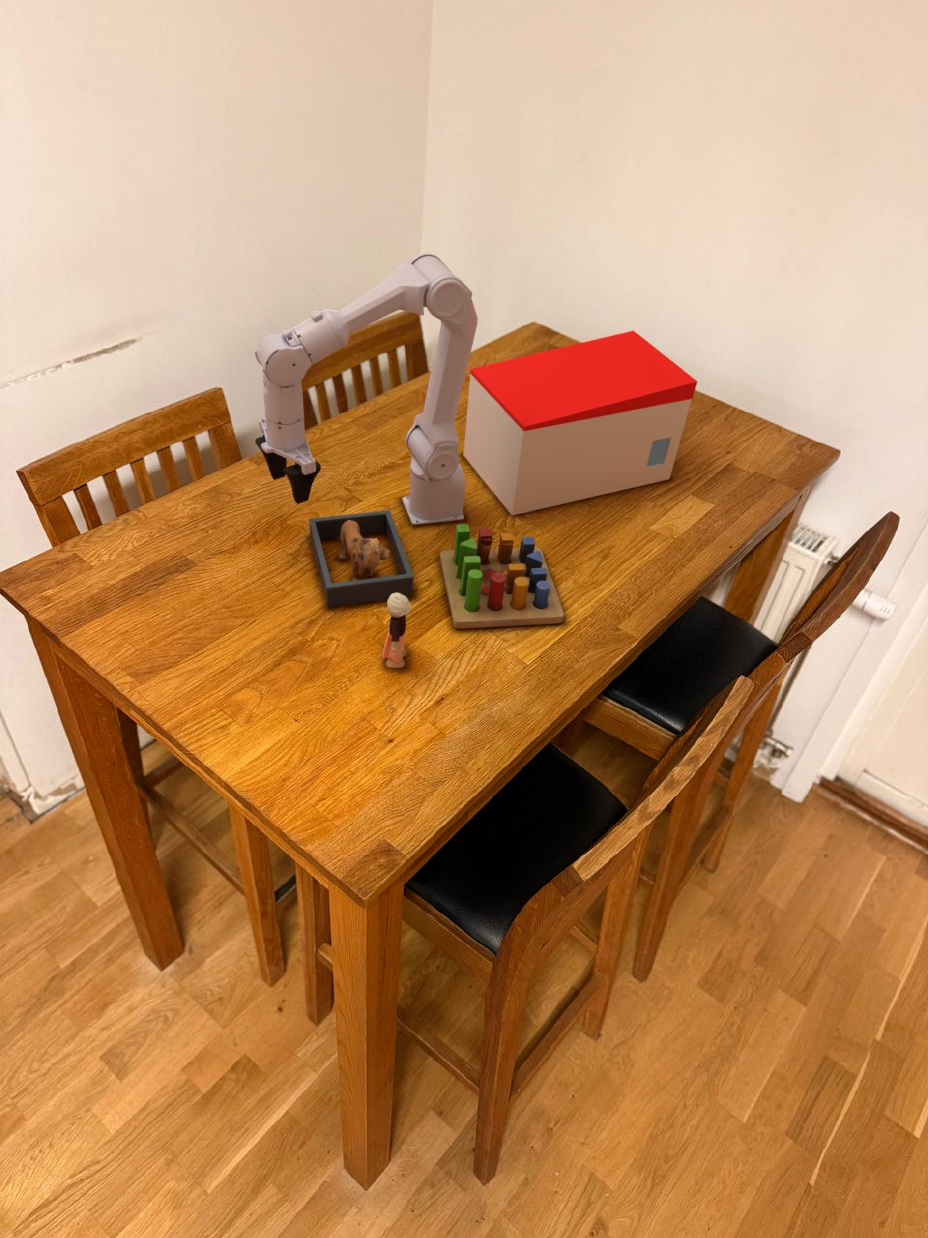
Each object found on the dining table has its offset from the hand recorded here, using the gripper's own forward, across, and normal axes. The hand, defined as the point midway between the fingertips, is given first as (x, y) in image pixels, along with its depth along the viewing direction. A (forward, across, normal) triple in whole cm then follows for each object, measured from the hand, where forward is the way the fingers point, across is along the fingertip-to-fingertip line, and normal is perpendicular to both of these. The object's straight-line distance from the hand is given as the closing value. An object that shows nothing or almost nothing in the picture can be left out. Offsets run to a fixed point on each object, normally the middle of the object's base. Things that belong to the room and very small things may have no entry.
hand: (290, 489), depth 143 cm
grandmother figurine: (+10, +33, -1) cm, 35 cm away
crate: (+10, +12, +6) cm, 17 cm away
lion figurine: (+10, +12, +6) cm, 17 cm away
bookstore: (+10, +8, +55) cm, 57 cm away
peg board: (+10, +29, +22) cm, 38 cm away
